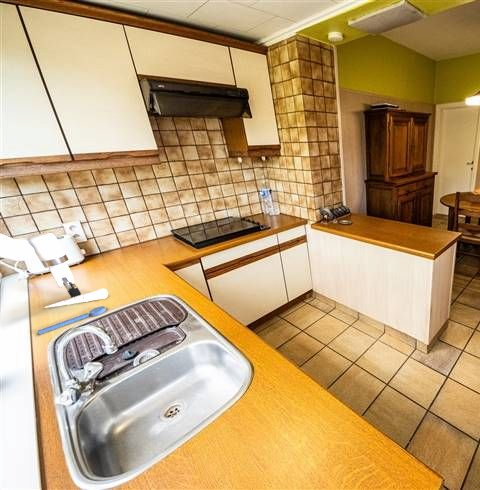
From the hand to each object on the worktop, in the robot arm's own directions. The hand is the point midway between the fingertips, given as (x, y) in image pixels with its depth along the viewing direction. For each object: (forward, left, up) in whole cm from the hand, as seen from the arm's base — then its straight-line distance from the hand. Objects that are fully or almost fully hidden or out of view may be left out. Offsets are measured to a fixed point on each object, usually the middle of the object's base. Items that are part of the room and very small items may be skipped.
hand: (76, 295), depth 123 cm
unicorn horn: (0, -3, -3) cm, 4 cm away
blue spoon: (-1, -21, -2) cm, 22 cm away
